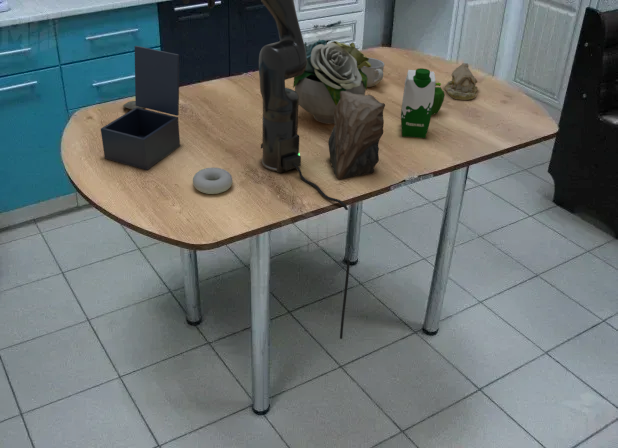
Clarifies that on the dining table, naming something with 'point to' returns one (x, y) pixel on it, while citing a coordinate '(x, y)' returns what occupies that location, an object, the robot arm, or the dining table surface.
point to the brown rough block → (355, 135)
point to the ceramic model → (462, 83)
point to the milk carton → (417, 102)
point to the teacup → (373, 72)
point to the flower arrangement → (330, 77)
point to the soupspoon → (131, 105)
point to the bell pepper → (437, 99)
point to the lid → (157, 80)
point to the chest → (140, 138)
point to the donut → (206, 177)
